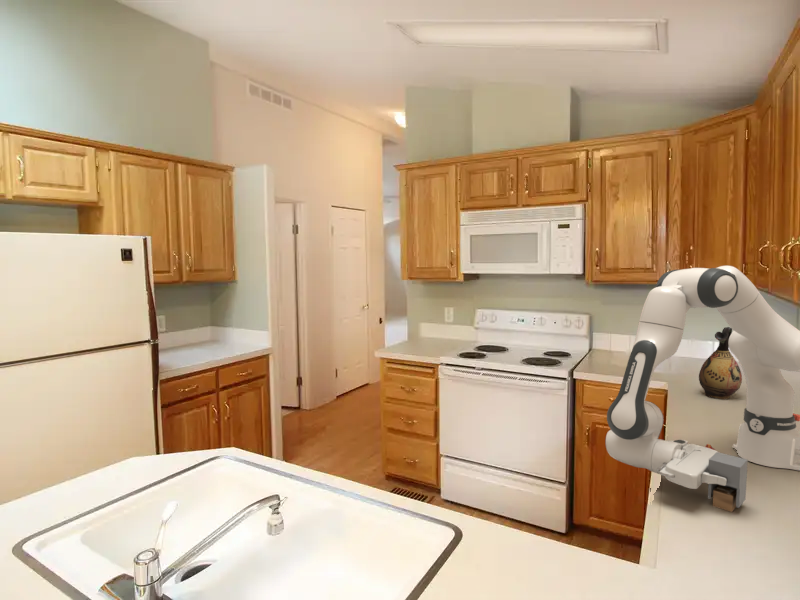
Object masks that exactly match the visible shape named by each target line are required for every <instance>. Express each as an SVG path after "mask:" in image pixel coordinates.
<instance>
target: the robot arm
mask: <svg viewBox="0 0 800 600" xmlns="http://www.w3.org/2000/svg"><path fill="white" fill-rule="evenodd" d="M691 308H694V309H695V308H711V309H716V310H717V311H718V312H719V315H721V317H722V318H723V319H724V320H725V322H726V323H727V325H728V327H730V328H732V333H731V335H730V337H729V342H728V344H729V348H728V349H729V352H730V353H731V354H733V356H734V357H735V358H736V359H737V361H738V362H739V364H740V366H741V369H742V372H743V374H744V375H743V376H744V378H745V382H746V405H745V406H746V407H745V408H744V411H743V422H741V423H740V424H739V428H738V433H737V434H738V435H737V441H736V443H733V444H732V448H733V447H734V448H735V449H736V450H737V451H736V450H735V449H734V450H735V451H736V454H737V453H738V454H737V456H738V457H739V458H743V459H747V460H748V462H752V463H754V464H757V465H761V466H766V467H770V468H776V469H777V468H778V469H790V470H794V471H800V430H799V429H798V428H797V422H800V413H799V414H797V413H794V402H795V390H794V387H793V385H791V384H790V383H789V382H788V381H787V380H786V378H784V376H783V374H782V372H781V370H784V371H787V372H795V373H796V372H799V373H800V330H799V329H798V328H796V327H795V326H794V325H793V324H791V323H790V322H789V321H787V320H786V319H785V318H784V317H782V316H781V315H780V314H778V312H776V311H775V310H774V308H772V307H771V305H770V304H769V303H768V302H767V301H766V299H765V298H764V296H763V295H762V294H761V293H760V291H759V289H758V288H757V287H756V285H755V284H754V283H753V282H752V281H751V280H750V279H749V278H748V277H747V276H746V275H745V274H744V273H743V272H742V271H741V270H740V269H738V268H737V267H735V266H733V265H720V266H718V267H717V266H716V267H711V268H706V267H691V268H683V269H671V270H669V271H665V272H664V273H662V275H661V276H660V277H659V278H658V280H657V282H656V285H655V287H654V288H652V289H651V290H650V291H649V292H648V294H647V296H646V299H645V301H644V303H643V306H642V310H641V313H640V316H639V320H638V321H639V322H638V325H637V330H636V334H635V338H634V342H633V346H632V350H631V352H630V355H629V358H628V361H627V364H626V367H625V370H624V373H623V374H624V375H623V378H622V381H621V384H620V389H619V391H618V394H617V396H616V398H615V399H613V401H612V403H611V404H610V406H609V407H608V409H607V412H606V421H607V425H608V427H609V429H610V430H608V431H607V433H606V435H605V448H606V452H607V453H608V454H609V456H610V457H611V458H613V459H614V460H616V461H618V462H621V463H623V464H625V465H629V466H632V467H635V468H639V469H641V468H642V469H647V470H648V471H650V472H652V473H654V474H658V475H660V476H664V477H665V479H666V480H668V481H669V482H670V483H671V482H672V483H673V484H676V485H679V486H681V487H684V488H687V489H693V490H697V489H699V488H700V486H701V485H702V484H703V483H704V484H719V485H723V486H725V485H726V484H727V483H728V478H727V477H725V476H722V475H719V476H717V475H711V474H709V473H708V468H709V459H710V458H711V457H712V456H713V455H714V454H715V453H716V452H719V451H717V450H716V449H715V450H713V449H710V448H707V447H705V446H702V445H698V444H695V443H689V442H688V440H685V439H681V438H680V439H676V440H664V439H660V438H659V437H660V435H661V432H662V429H663V425H664V419H665V418H664V414H663V411H662V410H661V408H660V407H659V406H658V405H657V404H655V403H654V402H651V401H648V400H647V399H646V398H647V395H648V391H649V388H650V383H651V380H652V377H653V375H654V372H655V370H656V369H657V367H658V366H659V365H660V364H661V363H663V362H664V361H666V360H668V359H670V358H671V357H672V356H674V355H675V354H676V353H677V351H678V349H679V347H680V345H681V342H682V339H683V334H684V329H685V325H686V316H687V312H688V311H689V309H691Z"/></svg>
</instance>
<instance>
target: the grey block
mask: <svg viewBox="0 0 800 600" xmlns="http://www.w3.org/2000/svg"><path fill="white" fill-rule="evenodd" d="M748 462H749V461H748V460H747V459H744V458H742V457H740V456H735V455H732V454H726V453H722V452H719V451H718V452H716V453H715V454H714V455H713V456H712V457H711V458H710V459H709V468H708V473H709V474H711V475H717V476H719V475H722V476H725V477H727V478H728V483H727V484H726V485H725V486H723V485H720V486H723V487H727V488H730V489H733V490H737V496H736V508H738V509H739V508H740V507H741V506H742V505H743V503H744V502H745V501H746V496H747V477H748V476H747V474H748ZM718 485H719V484H708V489H707V491H708V492H707V499H710V500H711V499H713V490H714V489H715V488H716V487H717V486H718Z"/></svg>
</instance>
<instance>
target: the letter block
mask: <svg viewBox="0 0 800 600" xmlns="http://www.w3.org/2000/svg"><path fill="white" fill-rule="evenodd" d="M736 496H737V490H733V489H730V488H727V487H723V486H720V485H718V486H717V487H716V488H715V489H714V490H713V497H712V507H715V508H719V509H721V510H725V511H726V512H727V511H728V512H731V513H733V511H735V509H736V508H737V507H736Z"/></svg>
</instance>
